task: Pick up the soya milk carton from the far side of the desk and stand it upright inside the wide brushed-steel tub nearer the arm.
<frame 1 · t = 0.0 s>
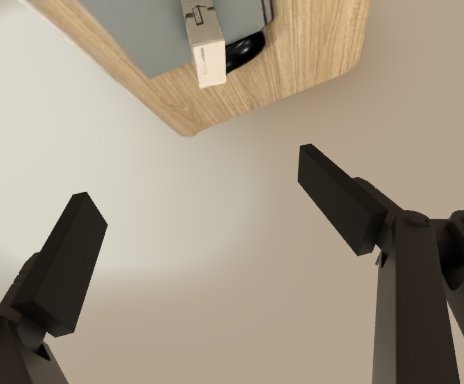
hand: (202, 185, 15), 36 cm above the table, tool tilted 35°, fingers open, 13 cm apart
ink box: (196, 14, 40), on the table
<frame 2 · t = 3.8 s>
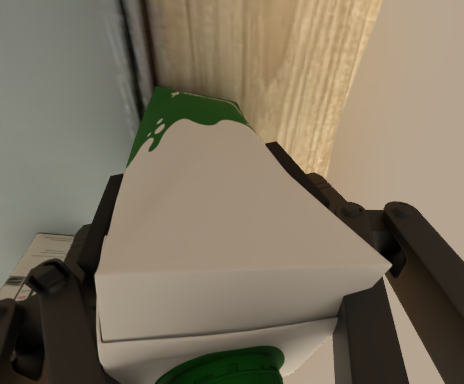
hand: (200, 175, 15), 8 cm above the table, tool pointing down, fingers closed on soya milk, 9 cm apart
soya milk: (192, 132, 22), on the table, touching gripper
ink box: (64, 258, 27), on the table
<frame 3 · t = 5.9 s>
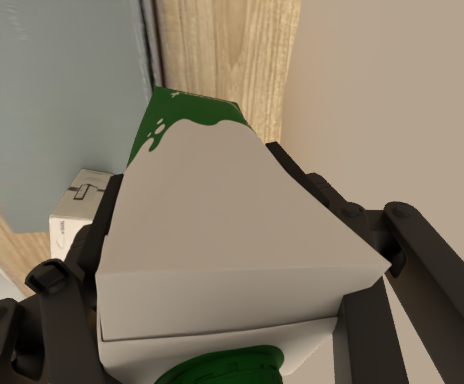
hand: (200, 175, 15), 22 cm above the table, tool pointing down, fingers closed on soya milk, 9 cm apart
soya milk: (192, 132, 22), point 14 cm above the table, touching gripper
ink box: (96, 191, 39), on the table
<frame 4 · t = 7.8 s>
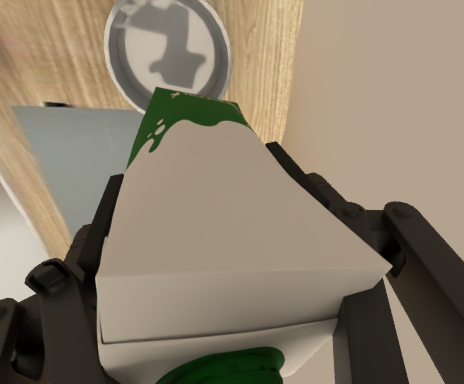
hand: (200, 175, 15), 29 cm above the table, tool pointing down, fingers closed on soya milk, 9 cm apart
soya milk: (192, 132, 22), point 21 cm above the table, touching gripper
steel tub: (172, 58, 36), on the table
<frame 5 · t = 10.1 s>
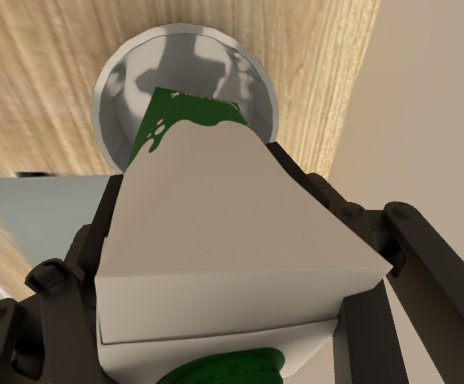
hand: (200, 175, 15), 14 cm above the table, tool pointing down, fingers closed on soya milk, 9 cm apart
soya milk: (192, 132, 22), point 6 cm above the table, touching gripper
steel tub: (188, 111, 26), on the table
when the fingers open (8 cm above the table, at t = 11.9 s): soya milk stays where it is, resting on steel tub.
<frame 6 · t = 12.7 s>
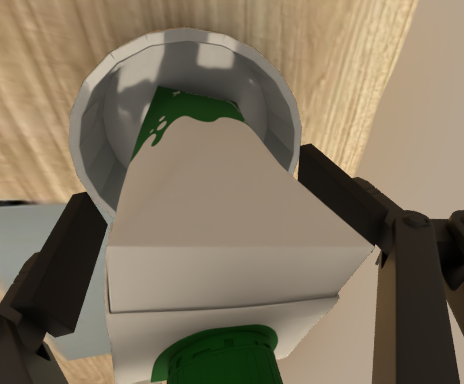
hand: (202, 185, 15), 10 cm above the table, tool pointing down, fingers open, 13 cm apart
soya milk: (193, 131, 22), resting on steel tub
steel tub: (191, 129, 23), on the table
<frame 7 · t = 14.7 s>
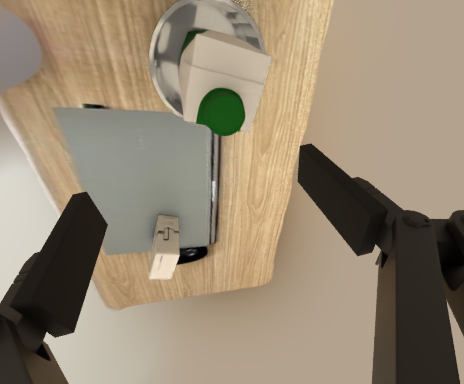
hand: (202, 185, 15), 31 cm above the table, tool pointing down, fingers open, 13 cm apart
soya milk: (205, 63, 37), resting on steel tub
ink box: (165, 227, 57), on the table
steel tub: (204, 62, 38), on the table
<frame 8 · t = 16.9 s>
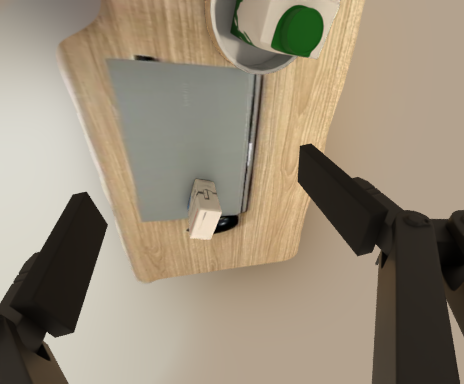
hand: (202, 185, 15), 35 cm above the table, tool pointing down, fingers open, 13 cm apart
soya milk: (254, 13, 38), resting on steel tub
ink box: (200, 193, 58), on the table
steel tub: (253, 13, 38), on the table
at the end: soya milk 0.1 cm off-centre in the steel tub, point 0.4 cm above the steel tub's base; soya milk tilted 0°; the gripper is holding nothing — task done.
